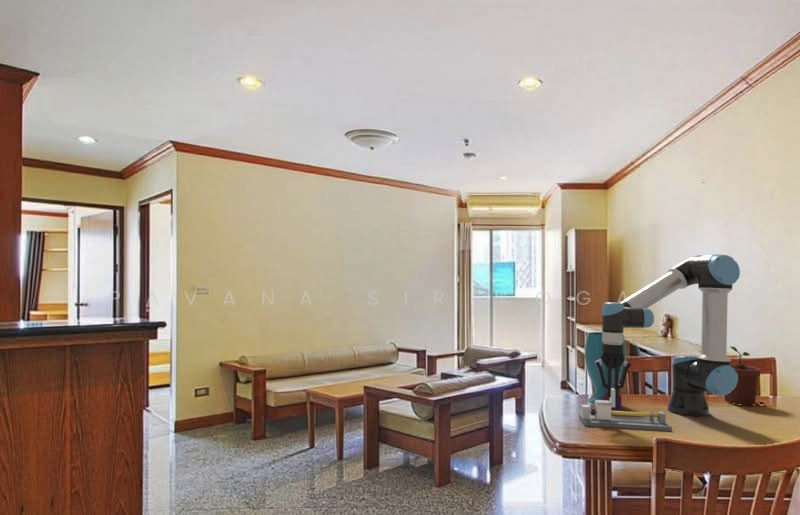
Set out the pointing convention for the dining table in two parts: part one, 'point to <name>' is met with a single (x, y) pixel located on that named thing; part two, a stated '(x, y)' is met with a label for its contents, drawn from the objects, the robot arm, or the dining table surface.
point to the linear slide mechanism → (625, 420)
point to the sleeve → (603, 409)
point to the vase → (591, 355)
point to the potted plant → (744, 384)
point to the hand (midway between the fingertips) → (612, 406)
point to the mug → (617, 402)
